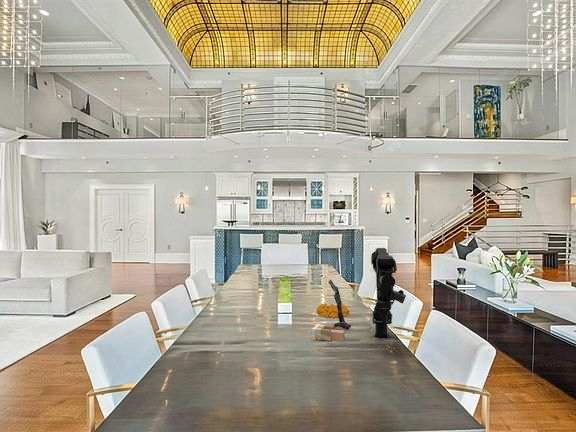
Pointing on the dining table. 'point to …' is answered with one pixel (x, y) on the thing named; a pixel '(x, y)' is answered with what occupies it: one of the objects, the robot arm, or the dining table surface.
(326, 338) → the block
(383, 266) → the robot arm
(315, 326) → the backstop
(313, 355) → the dining table surface
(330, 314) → the decorative ornament
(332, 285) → the statue
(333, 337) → the peg
